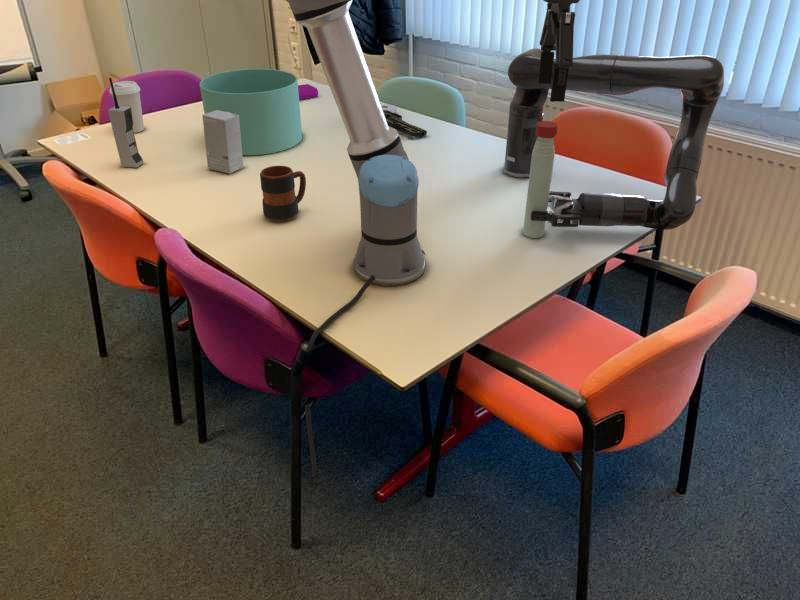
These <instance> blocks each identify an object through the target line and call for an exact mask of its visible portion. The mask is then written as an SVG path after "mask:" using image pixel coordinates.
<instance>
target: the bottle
mask: <svg viewBox="0 0 800 600" xmlns="http://www.w3.org/2000/svg"><path fill="white" fill-rule="evenodd" d="M555 152H556V150H555V140H554V138H541V137H538V138H537V139H536V142H535V145H534V149H533V152H532V159H531V167H530V176H529V177H528V184H527V185H528V186H527V192H526V203H525V204H526V205H525V210H524V220H523V228H522V234H523V235H524V236H525V237H527V238H531V239H539V238H542V237H544V235H545V228H546V222H547V221H532V220H531V212H532V211H548V208H549V207H548V200H549V192H550V191H551V185H552V184H551V183H552V177H553V171H554V170H553V169H554V162H555Z"/></svg>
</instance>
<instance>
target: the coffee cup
mask: <svg viewBox="0 0 800 600" xmlns="http://www.w3.org/2000/svg"><path fill="white" fill-rule="evenodd" d="M112 83H113V87H114V91H115V95H116V97H117V102H118V105H119V106H123V107H131V111H132V118H133V131H134V134H136V133H140V132H143V131H144V130H145V123H144V118H143V117H144V116H143V110H142V100H141V94H140V91H141V87H140V86H139V85H138V83H137V82H136V81H133V80H122V81H116V82H112ZM109 94H110V95H111V97H112V100H113V101H114V99H113V93H112V88H111V85H110V87H109Z"/></svg>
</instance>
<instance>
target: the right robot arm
mask: <svg viewBox="0 0 800 600" xmlns="http://www.w3.org/2000/svg"><path fill="white" fill-rule="evenodd" d="M541 52H543V51H541V48H537V47H536V48H530V49H527V50H526V51H524V52H522V53H520V54H518V55H517V56H516V57H514V58H513V59H512V60H511V62H510V64H509V65H508V69H507V77H508V80H509V81H510V83H511V84H512V85H513V86H515V91H514V94H513V97H512V98H511V101H510V102H509V111H508V123H507V134H506V143H505V156H504V164H503V173H504V174H505V175H507V176H510V177H514V178H522V179H523V178H529V176H530V167H531V159H532V152H533V149H534V145H535V142H536V139H537V138H538V136H536V133H535V131H536V125H537V122H540V121H544V120H543V119H544V112H545V107H546V104H547V101H548V98H549V92H550V90H551V89H552V81H553V72H554V68H553V69H552V77H551V84H538V76H539V67H540V58H541ZM563 61H565V60H563ZM553 64H556V58H554V61H553ZM724 86H725V70H724V65H723V64H722V62H721V61H720V60H718V58H717V57H716V58H715V57H713V56H710V55H683V56H681V55H680V56H662V57H661V56H660V57H659V56H643V55H641V56H638V55H637V56H636V55H635V56H634V55H623V54H592V55H583V56H576V57H573V66H572V67H570V68H569V70H568V77H567V85H566V91H571V92H580V93H588V94H589V93H592V94H596V95H597V94H598V95H610V96H611V95H612V96H621V95H623V96H624V95H629V94H634V93H636V92H640V91H643V90H647V89H653V88H655V89H656V88H659V89H660V88H663V89H673V90H679V91H680V93H681V96H682V97H681V98H682V100H681V101H682V105H681V117H680V123H679V127H678V130H677V133H676V136H675V138H674V140H673V143H672V145H671V149H670V152H669V155H668V159H667V164H666V168H665V172H664V180H663V181H664V185H666V190H665V194H664V198H663V199H662V200H653V199H647V198H646V197H645V196H642V195H635V194H633V195H632V194H616V193H605V192H604V193H603V192H602V193H600V192H581V193H580V194H579V195H578V198H573V197H572V192H571V191H554V190H553V191H552V190H550V192H549V200H548V207H547V208H550V211H549V210H547V211H532V212H531V220H532V221H546V222H547V223H548V224H551V225H550V226H551V227H553V228H578V227H579V226H580V227H581V226H583V227H616V226H617V227H619V226H620V227H642V228H647V229H653V230H662V231H665V230H666V231H668V230H674V229H676V228H679V227H680V226H682V225H684V224H686V223H687V222H688V221H690V220H691V218H692V217H693V215H694V212H695V209H696V205H697V182H698V177H699V173H700V169H701V163H702V158H703V154H704V149H705V148H704V147H705V144H706V143H705V142H706V137H707V134H708V129H709V124H710V122H711V119H712V116H713V113H714V111H715V108H716V106H717V104H718V102H719V99H720V97H721V95H722V92H723V91H724V88H725V87H724Z"/></svg>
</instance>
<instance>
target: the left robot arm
mask: <svg viewBox="0 0 800 600" xmlns="http://www.w3.org/2000/svg"><path fill="white" fill-rule="evenodd" d="M285 1H286V2H287V3H288V6H289V8H290V10H291V12H292V14H293V15H292V16H293V17H294V20H295V23H297V24H299V25H301V26H303V27H304V28H306V29H307V32H308V35H309V37H310V39H311V41H312V45H313V48H314V49H315V52H316V54H317V57H318V60H319V63H320V65H321V67H322V71H323V73H324V76H325V78H326V80H327V83H328V86H329V88H330V91H331V93H332V96H333V99H334V102H335V104H336V106H337V109H338V112H339V114H340V117H341V119H342V122H343V125H344V128H345V130H346V132H347V135H348V137H349V143H348V146H347V147H346V152H347V154H348V157H349V160H350V162H351V165H352V168H353V169H354V172H355V175H356V178H357V182H358V193H359V194H358V195H359V206H360V207H359V208H360V211H359V212H360V239H359V242H358V247H357V249H356V252H355V256H354V259H353V270H354V273H355V275H356V276H357V277H358V278H359V279H360V280H362V281H364V282H365V283H364V284H363V285H362V286H361V288H360V289H359V291H358V292H357V294H356V295H355V296H354V297H353V298H352V299H351V300H350V301H349V302H347V303H346V304H345V305H343V306H342V307H341V308H339V309H338V310H336V311H335V312H334V313H333V314H332V315H330V316H329V317H328V318H327V319H326V320H324V322H323V323H322V324H321V325H320V326H319V327H317V328H316V329H315V330H314V331H313V333H312V335H311V337H310V339H309V341H308V343H307V346H306V351H308V352H310V351H312V349H313V346H314V344H315V342H316V339H317V338H318V336H319V335H320V334H321V333H322V332H323V331H324V330H325V329H326V328H327V327H328V326H329V325H331V323H332V322H333V321H334V320H336V319H337V318H338V317H339V316H340V315H342V314H343V313H344V312H346V311H347V310H348V309H350V308H351V307H353V306H354V305H355V304H356V303H358V301H359V299H361V297H362V296H363V294H364V293H365V292H366V290H367V289H368V287H370V285H371V284H372V285H376V286H382V287H395V286H402V285H406V284H410V283H413V282H415V281H417V280H418V279H420V278H421V276H423V274H424V273H425V270H426V261H425V256H426V253H425V251H424V249H422V247H421V244H420V241H419V238H418V189H419V184H420V183H419V182H420V181H419V176H418V169H417V167H416V165H415V164H414V163H413V162H412V161H411V160H410V159H409V157H408V154H407V152H406V150H405V148H404V146H403V143H402V140H401V136H400V135H399V132H398V130H397V129H395V128H393V127H391V126H388V124H387V121H386V118H385V115H384V112H383V109H382V107H381V106H382V104H381V101H380V98H379V95H378V92H377V90H376V87H375V84H374V81H373V77H372V76H371V73H370V69H369V67H368V64H367V61H366V58H365V55H364V52H363V49H362V47H361V43H360V41H359V38H358V35H357V32H356V29H355V27H354V24H353V21H352V17H351V15H350V12H349V11H350V8H351V7H352V6H351V5H352V3H353V0H285ZM542 1H543V2H545V3H546V13H545V17H544V21H543V27H542V30H541V35H540V39H539V46H540V49H541V51H543V52H541V58H540V67H539V76H538V84H551V77H552V69H553V68H554V72H553V81H552V89H550V98H549V101H550V102H551V103H552V102H553V103H554V102H555V103H556V102H559V103H561V102H563V103H564V102H565V98H566V91H567V90H566V85H567V77H568V70H569V68H570V67H572V66H573V58H574V33H575V32H574V31H575V30H574V29H575V17H576V12H575V11H571V6H572V4H579V3H580V2H581V1H582V0H542ZM554 59H556V64H553V61H554ZM563 60H565V61H563ZM304 409H305V410H304V411H305V420H306V429H307V430H306V431H307V437H308V438H307V439H308V446H309V453H310V454H309V455H310V461H311V463H310V464H311V472H312V476H313V477H316V476H317V475H318V469H317V460H316V459H317V458H316V450H315V442H314V433H313V425H312V424H313V423H312V415H311V404H304Z"/></svg>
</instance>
